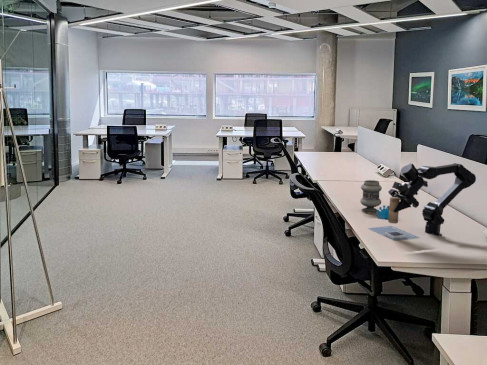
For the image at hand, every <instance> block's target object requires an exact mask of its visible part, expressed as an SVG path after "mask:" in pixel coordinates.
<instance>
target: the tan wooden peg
mask: <svg viewBox="0 0 487 365" xmlns="http://www.w3.org/2000/svg"><path fill="white" fill-rule="evenodd" d="M399 200H400V198H398V197H392V196H390V197H389V205H388V206H389V218H388V219H389V220H387V221H388V223H389V224H398V223H399V214H400V211H398V212H396V213H395V212H394V209H395V208H396V207H397V206H398V204H399Z"/></svg>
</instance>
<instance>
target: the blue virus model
mask: <svg viewBox="0 0 487 365" xmlns="http://www.w3.org/2000/svg"><path fill="white" fill-rule="evenodd" d="M378 207H379V208H378V209H377V213H376V216H377V217H378V219H382V220H385V219H386V221H388V220H389V210H388V208H389V205H387V206H386V205H382V207H381V206H378Z"/></svg>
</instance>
